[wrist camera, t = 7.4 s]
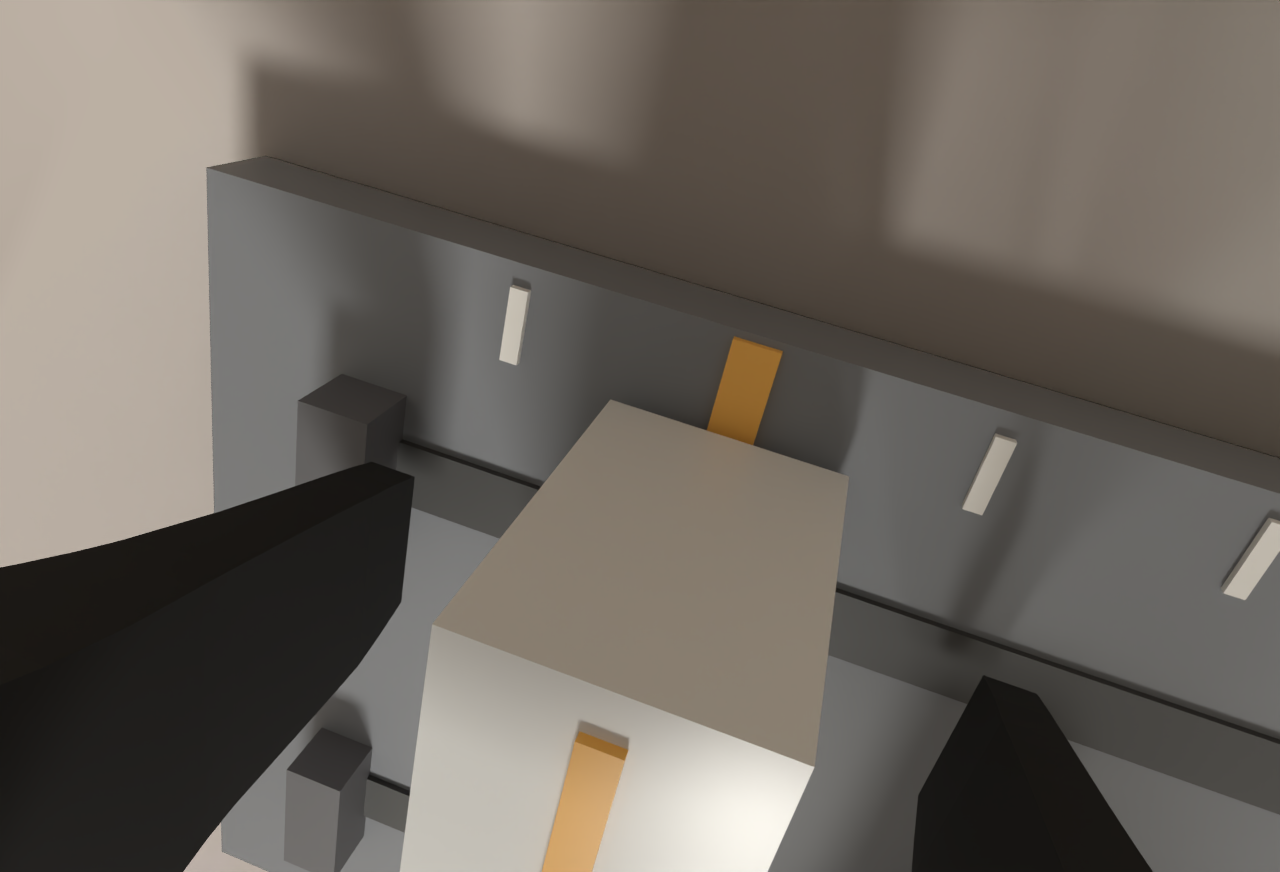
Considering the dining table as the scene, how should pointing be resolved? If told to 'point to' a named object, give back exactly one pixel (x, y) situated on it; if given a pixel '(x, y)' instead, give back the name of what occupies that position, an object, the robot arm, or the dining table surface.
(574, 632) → the fader knob
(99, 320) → the dining table surface
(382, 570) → the robot arm
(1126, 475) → the console board
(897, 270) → the dining table surface
